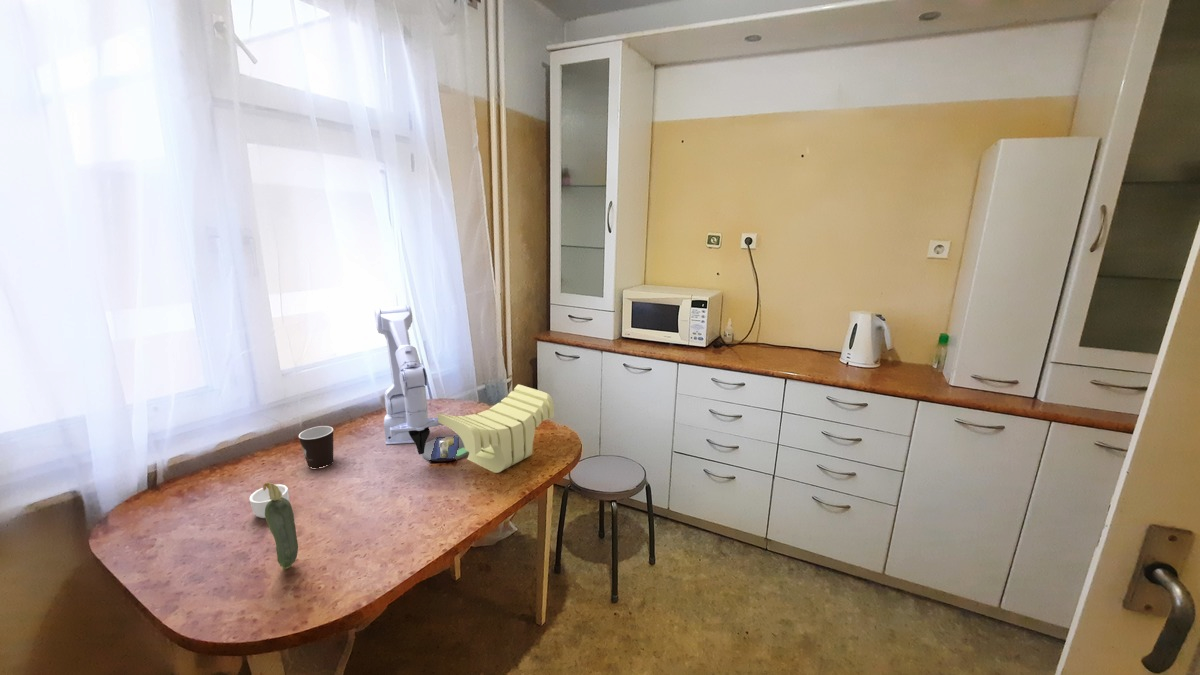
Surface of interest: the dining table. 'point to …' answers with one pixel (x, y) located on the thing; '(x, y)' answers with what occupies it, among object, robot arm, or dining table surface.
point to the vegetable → (281, 526)
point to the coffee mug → (317, 446)
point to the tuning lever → (445, 446)
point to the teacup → (265, 499)
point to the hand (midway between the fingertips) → (420, 452)
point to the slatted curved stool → (503, 428)
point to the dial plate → (430, 445)
